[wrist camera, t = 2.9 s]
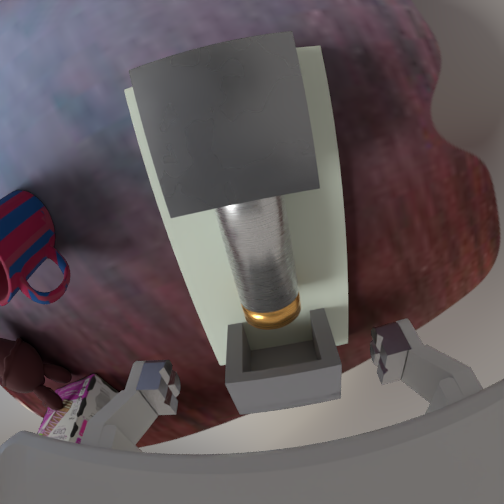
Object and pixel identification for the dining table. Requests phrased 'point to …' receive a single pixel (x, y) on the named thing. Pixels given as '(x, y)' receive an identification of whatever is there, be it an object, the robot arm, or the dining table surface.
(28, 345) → the icecream
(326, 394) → the socket
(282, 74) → the dark grey cube cap
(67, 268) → the mug
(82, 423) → the candy bar box
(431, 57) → the dining table surface
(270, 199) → the tube
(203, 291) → the board
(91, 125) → the dining table surface
